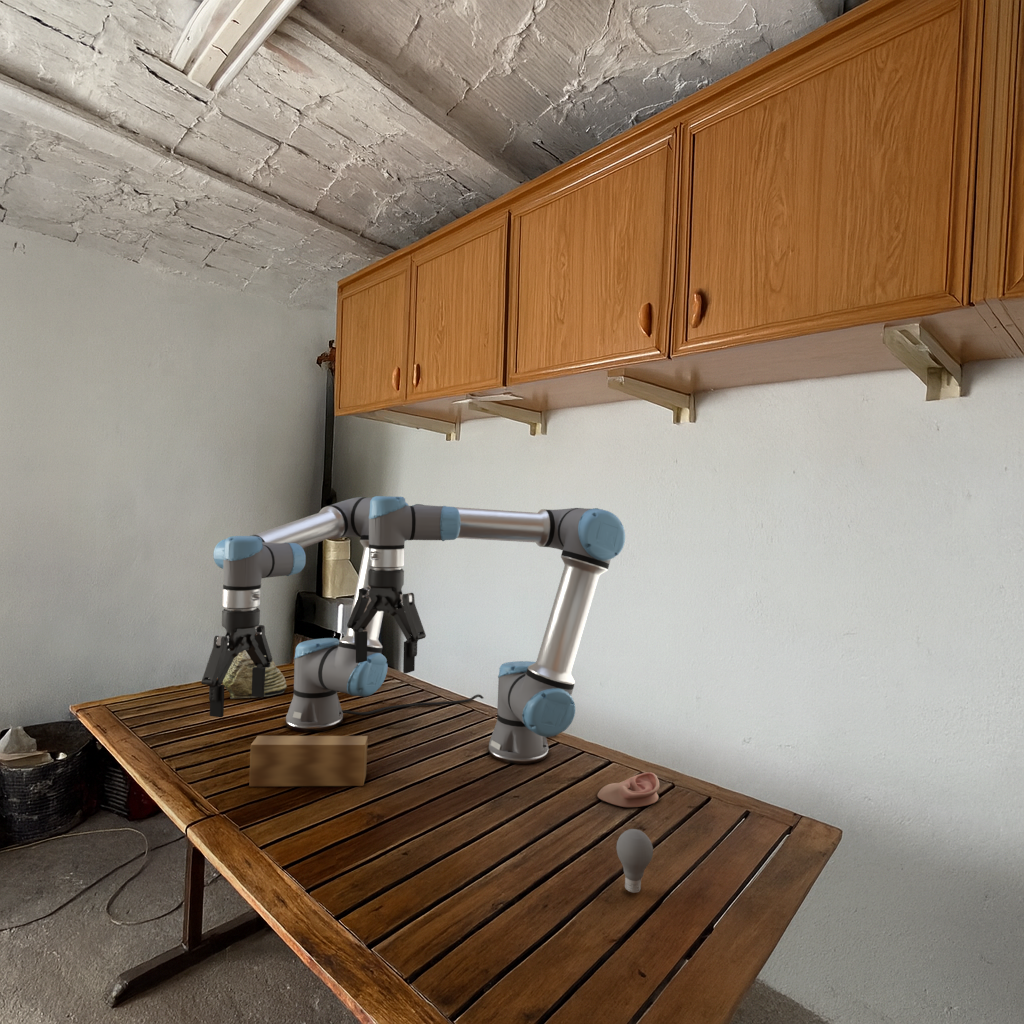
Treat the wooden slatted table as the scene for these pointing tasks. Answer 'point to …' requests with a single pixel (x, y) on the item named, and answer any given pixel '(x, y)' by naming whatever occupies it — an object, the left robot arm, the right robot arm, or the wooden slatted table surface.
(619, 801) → the anatomical model
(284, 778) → the bar
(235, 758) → the wooden slatted table surface
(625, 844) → the light bulb
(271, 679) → the fossil
